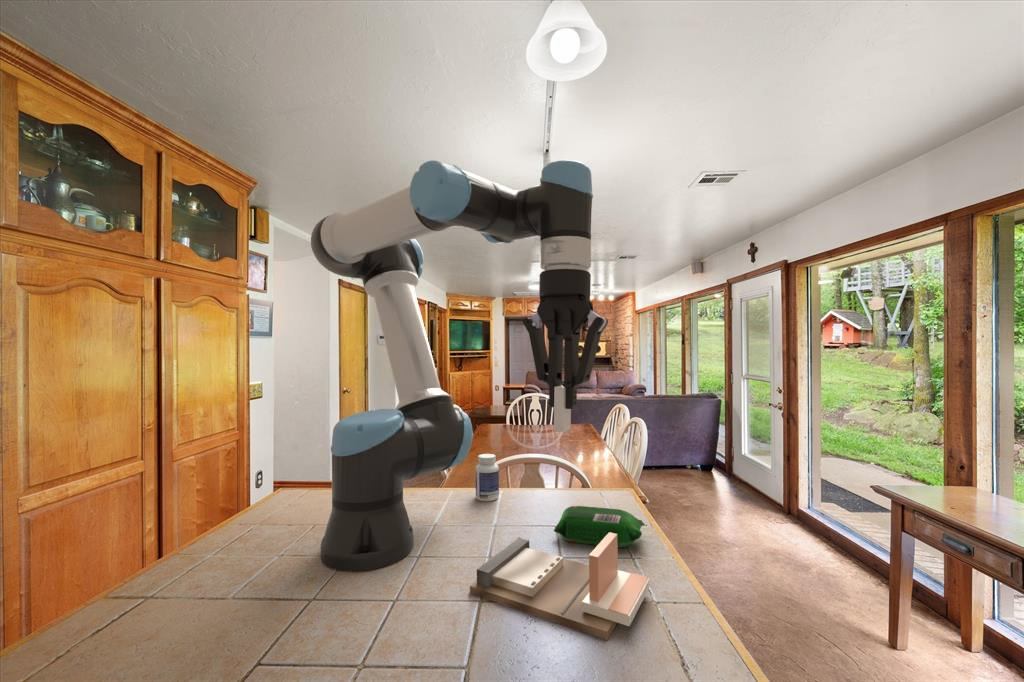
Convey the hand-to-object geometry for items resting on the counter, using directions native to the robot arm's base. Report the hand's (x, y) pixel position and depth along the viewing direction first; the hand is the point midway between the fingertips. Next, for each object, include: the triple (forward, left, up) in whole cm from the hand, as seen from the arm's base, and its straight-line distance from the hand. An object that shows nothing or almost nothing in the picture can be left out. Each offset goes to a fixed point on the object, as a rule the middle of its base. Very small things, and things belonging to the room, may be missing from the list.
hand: (562, 430), depth 65 cm
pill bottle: (-30, +25, -23) cm, 45 cm away
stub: (+9, -2, -21) cm, 23 cm away
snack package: (0, +17, -23) cm, 28 cm away
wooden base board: (0, -2, -22) cm, 22 cm away
